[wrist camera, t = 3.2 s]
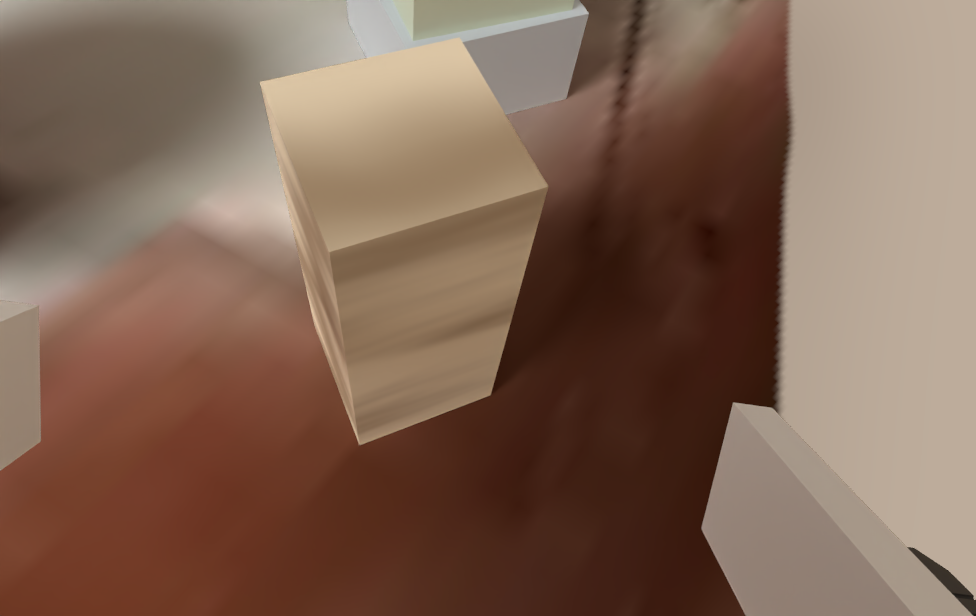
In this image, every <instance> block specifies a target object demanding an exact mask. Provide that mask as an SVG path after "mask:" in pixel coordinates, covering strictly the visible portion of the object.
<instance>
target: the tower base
mask: <svg viewBox="0 0 976 616" xmlns="http://www.w3.org/2000/svg"><path fill="white" fill-rule="evenodd" d="M346 1H347V14H348V23H349V25H350V27H351V29H352V31H353V33H354V35H355V37H356V39H357V41H358V43H359V45H360V47H361V49H362V51H363V53H364V55H365V57H366V58H369V57H373V56H378V55H382V54H387V53H391V52H396V51H400V50H405V49H409V48H414V47H418V46H423V45H427V44H432V43H436V42H441V41H445V40H449V39H454V38H458V37H460V39H461V41H462V42H463V44H464V46H465V47H466V49H467V51H468V52H469V54H470V56H471V57H472V59H473V61H474V62H475V64H476V66H477V67H478V69H479V71H480V73H481V74H482V76H483V78H484V79H485V81H486V83H487V84H488V86H489V88H490V89H491V91H492V93H493V94H494V96H495V98H496V99H497V101H498V103H499V104H500V106H501V108H502V109H503V111H504V113H505V114H506V115H507V114H511V113H514V112H518V111H522V110H526V109H530V108H533V107H537V106H541V105H545V104H549V103H552V102H556V101H560V100H564V99H566V98H567V94H568V90H569V86H570V83H571V79H572V75H573V71H574V68H575V64H576V60H577V57H578V53H579V49H580V45H581V42H582V38H583V34H584V30H585V27H586V23H587V19H588V15H589V13H588V11H587V10H586V9H585V7H584V6H583V5H582V3H581V2H580V0H574V5H573V9H572V10H569V11H564V12H559V13H554V14H549V15H544V16H539V17H534V18H529V19H524V20H518V21H513V22H508V23H503V24H498V25H493V26H488V27H483V28H478V29H472V30H467V31H462V32H457V33H452V34H447V35H442V36H437V37H432V38H426V39H421V40H416V41H413V40H412V38H411V36H410V34H409V32H408V30H407V28H406V26H405V24H404V22H403V20H402V18H401V16H400V14H399V12H398V10H397V8H396V6H395V4H394V2H393V0H346Z"/></svg>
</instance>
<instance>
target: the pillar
mask: <svg viewBox="0 0 976 616" xmlns="http://www.w3.org/2000/svg"><path fill="white" fill-rule="evenodd" d="M260 85H261V89H262V94H263V98H264V103H265V107H266V112H267V116H268V121H269V125H270V130H271V134H272V138H273V143H274V147H275V152H276V156H277V161H278V165H279V170H280V174H281V178H282V183H283V187H284V192H285V196H286V201H287V205H288V210H289V214H290V219H291V223H292V227H293V232H294V236H295V241H296V245H297V250H298V254H299V259H300V263H301V267H302V272H303V276H304V281H305V285H306V290H307V294H308V299H309V303H310V308H311V312H312V316H313V321H314V325H315V328H316V331H317V334H318V336H319V339H320V342H321V344H322V347H323V350H324V352H325V355H326V358H327V360H328V363H329V365H330V368H331V371H332V373H333V376H334V379H335V381H336V384H337V387H338V389H339V392H340V395H341V397H342V400H343V403H344V405H345V408H346V411H347V413H348V416H349V419H350V421H351V424H352V427H353V429H354V432H355V435H356V437H357V440H358V443H359V445H362V444H365V443H367V442H370V441H372V440H375V439H378V438H380V437H383V436H385V435H388V434H391V433H393V432H396V431H398V430H401V429H404V428H406V427H409V426H412V425H414V424H417V423H419V422H422V421H425V420H427V419H430V418H432V417H435V416H438V415H440V414H443V413H446V412H448V411H451V410H453V409H456V408H459V407H461V406H464V405H466V404H469V403H472V402H474V401H477V400H479V399H482V398H485V397H487V396H490V395H491V392H492V388H493V385H494V381H495V378H496V374H497V370H498V367H499V363H500V360H501V356H502V352H503V349H504V345H505V341H506V338H507V334H508V331H509V327H510V323H511V320H512V316H513V313H514V309H515V305H516V302H517V298H518V295H519V291H520V287H521V284H522V280H523V277H524V273H525V269H526V266H527V262H528V259H529V255H530V251H531V248H532V244H533V241H534V237H535V233H536V230H537V226H538V222H539V219H540V215H541V212H542V208H543V204H544V201H545V197H546V194H547V190H548V185H547V183H546V182H545V180H544V178H543V177H542V175H541V173H540V171H539V170H538V168H537V166H536V165H535V163H534V161H533V160H532V158H531V156H530V155H529V153H528V151H527V150H526V148H525V146H524V145H523V143H522V141H521V140H520V138H519V136H518V135H517V133H516V131H515V130H514V128H513V126H512V125H511V123H510V121H509V119H508V118H507V116H506V114H505V113H504V111H503V109H502V108H501V106H500V104H499V103H498V101H497V99H496V98H495V96H494V94H493V93H492V91H491V89H490V88H489V86H488V84H487V83H486V81H485V79H484V78H483V76H482V74H481V73H480V71H479V69H478V67H477V66H476V64H475V62H474V61H473V59H472V57H471V56H470V54H469V52H468V51H467V49H466V47H465V46H464V44H463V42H462V41H461V39H460V37H458V38H454V39H449V40H445V41H441V42H436V43H432V44H427V45H423V46H418V47H414V48H409V49H405V50H400V51H396V52H391V53H387V54H382V55H378V56H373V57H369V58H364V59H360V60H355V61H351V62H347V63H342V64H338V65H333V66H329V67H324V68H320V69H315V70H311V71H306V72H302V73H297V74H293V75H288V76H284V77H279V78H275V79H270V80H266V81H261V82H260Z"/></svg>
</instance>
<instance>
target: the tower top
mask: <svg viewBox="0 0 976 616" xmlns="http://www.w3.org/2000/svg"><path fill="white" fill-rule="evenodd" d="M393 2H394V4H395V6H396V8H397V10H398V12H399V14H400V16H401V18H402V20H403V22H404V24H405V26H406V28H407V30H408V32H409V34H410V36H411V38H412V40H413V41H416V40H421V39H426V38H432V37H437V36H442V35H447V34H452V33H457V32H462V31H467V30H472V29H478V28H483V27H488V26H493V25H498V24H503V23H508V22H513V21H518V20H524V19H529V18H534V17H539V16H544V15H549V14H554V13H559V12H564V11H569V10H572V9H573V5H574V0H393Z"/></svg>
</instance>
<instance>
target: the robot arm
mask: <svg viewBox="0 0 976 616" xmlns="http://www.w3.org/2000/svg"><path fill="white" fill-rule="evenodd" d="M40 441H41V417H40V350H39V306H38V305H31V304H24V303H17V302H10V301H3V300H0V471H1V470H2V469H3V468H5V467H6V466H7V465H9V464H10V463H12V462H13V461H14V460H16V459H17V458H18V457H20V456H21V455H23V454H24V453H25V452H27V451H28V450H29V449H31V448H32V447H34V446H35V445H36V444H38V443H39V442H40ZM701 529H702V531H703V533H704V535H705V537H706V539H707V541H708V543H709V545H710V547H711V549H712V551H713V553H714V555H715V557H716V559H717V560H718V562H719V564H720V566H721V568H722V570H723V572H724V574H725V576H726V578H727V580H728V582H729V584H730V586H731V588H732V590H733V592H734V594H735V596H736V598H737V599H738V601H739V603H740V605H741V607H742V609H743V611H744V613H745V615H746V616H976V600H974V599H973V595H972V594H971V593H970V592H969V591H968V590H967V589H966V588H965V587H964V586H963V585H962V584H961V583H960V582H959V581H958V580H957V579H956V578H955V577H954V576H953V575H952V574H951V573H950V572H949V571H948V570H946V569H945V568H943V567H942V566H940V565H939V564H937V563H936V562H934V561H933V560H931V559H930V558H928V557H927V556H925V555H924V554H922V553H921V552H919V551H918V550H916V549H914V548H910V547H906V546H905V545H904V544H903V543H902V542H901V541H900V540H899V538H898V537H897V536H896V535H895V534H894V533H893V532H892V531H891V530H890V529H888V527H887V526H886V525H885V524H884V523H883V522H882V521H881V520H880V519H879V518H878V517H877V516H876V515H875V514H874V513H873V512H872V511H871V510H870V508H869V507H868V506H866V505H865V503H864V502H863V501H862V500H861V499H860V498H859V497H858V496H857V495H856V494H855V493H854V492H853V491H852V490H851V489H850V488H849V487H848V486H847V485H846V484H845V483H844V482H843V481H842V480H841V478H840V477H839V476H837V474H836V473H835V472H834V471H833V470H832V469H831V468H830V467H829V466H828V465H827V464H826V463H825V462H824V461H823V460H822V459H821V458H820V457H819V456H818V455H817V454H816V453H815V452H814V451H813V450H812V449H811V448H810V446H809V445H808V444H807V443H806V442H805V441H804V440H803V439H802V438H801V437H800V436H799V435H798V434H797V433H796V432H795V431H794V430H793V429H792V428H791V427H790V426H789V425H788V424H787V423H786V422H785V421H784V420H783V419H782V417H781V416H780V415H779V414H778V413H777V412H776V411H775V410H774V409H773V408H770V407H762V406H755V405H748V404H741V403H734V402H733V405H732V409H731V413H730V417H729V421H728V425H727V429H726V433H725V437H724V441H723V445H722V449H721V453H720V457H719V461H718V464H717V468H716V472H715V476H714V480H713V484H712V488H711V492H710V496H709V500H708V504H707V508H706V512H705V516H704V520H703V524H702V528H701Z"/></svg>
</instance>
